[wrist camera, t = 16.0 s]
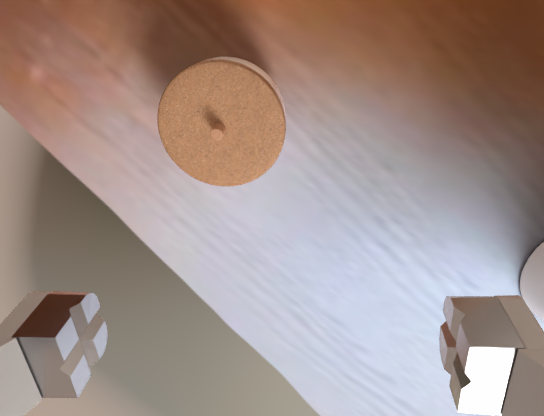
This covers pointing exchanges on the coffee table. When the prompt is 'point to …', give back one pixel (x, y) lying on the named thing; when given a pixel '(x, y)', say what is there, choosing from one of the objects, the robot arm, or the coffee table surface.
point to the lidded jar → (222, 121)
